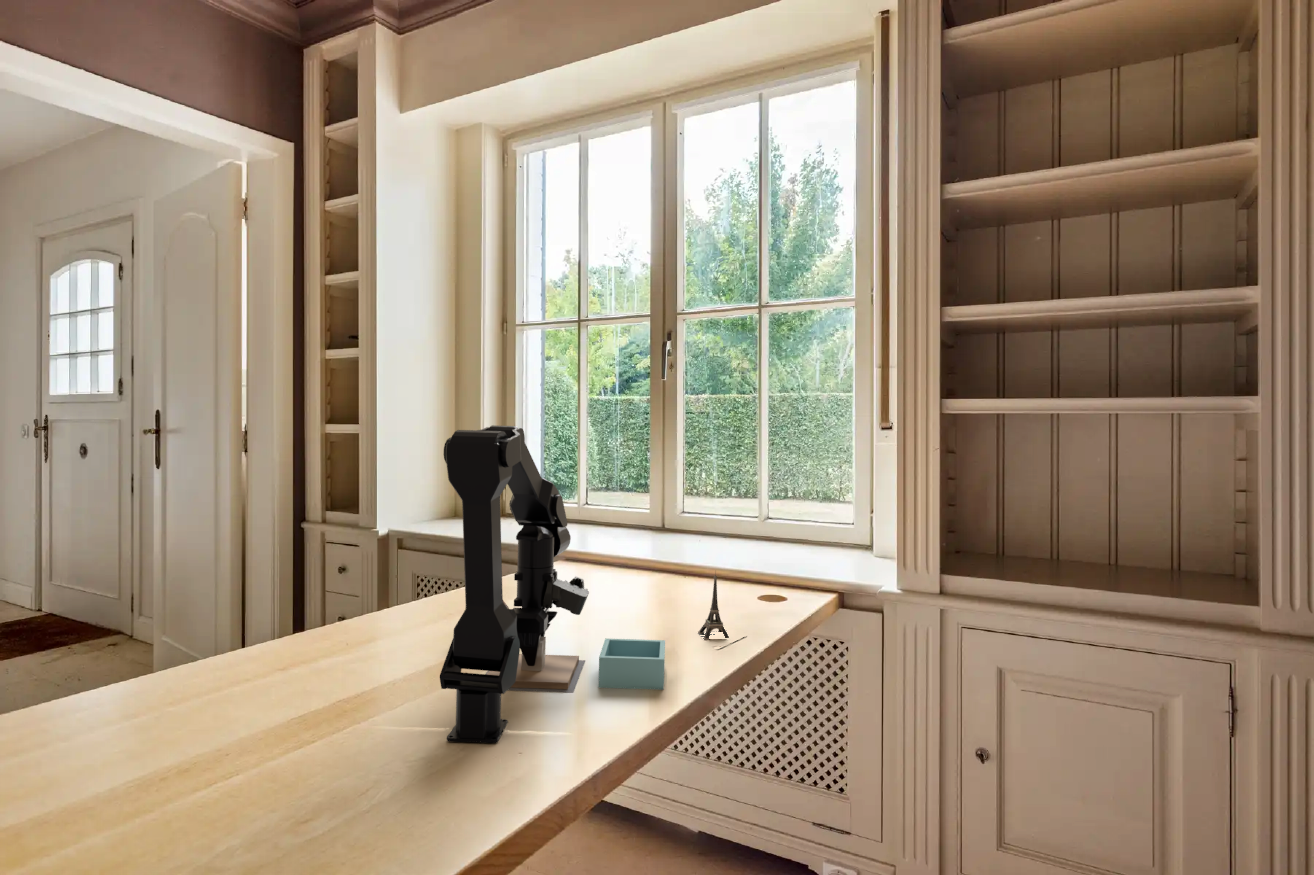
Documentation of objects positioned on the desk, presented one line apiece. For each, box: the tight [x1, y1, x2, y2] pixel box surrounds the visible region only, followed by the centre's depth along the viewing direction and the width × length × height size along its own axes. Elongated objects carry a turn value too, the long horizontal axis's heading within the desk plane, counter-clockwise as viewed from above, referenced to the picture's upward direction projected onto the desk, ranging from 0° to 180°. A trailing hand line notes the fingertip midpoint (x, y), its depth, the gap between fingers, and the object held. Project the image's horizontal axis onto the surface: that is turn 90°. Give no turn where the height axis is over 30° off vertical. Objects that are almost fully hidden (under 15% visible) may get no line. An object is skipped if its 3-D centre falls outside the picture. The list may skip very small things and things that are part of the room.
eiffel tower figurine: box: [697, 570, 729, 641], centre depth 143 cm, size 15×10×13 cm
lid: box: [486, 636, 580, 689], centre depth 118 cm, size 13×13×6 cm
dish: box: [597, 638, 666, 691], centre depth 118 cm, size 10×10×5 cm
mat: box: [485, 659, 586, 694], centre depth 118 cm, size 15×15×1 cm
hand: (533, 662), depth 118 cm, fingers closed on lid, 3 cm apart
